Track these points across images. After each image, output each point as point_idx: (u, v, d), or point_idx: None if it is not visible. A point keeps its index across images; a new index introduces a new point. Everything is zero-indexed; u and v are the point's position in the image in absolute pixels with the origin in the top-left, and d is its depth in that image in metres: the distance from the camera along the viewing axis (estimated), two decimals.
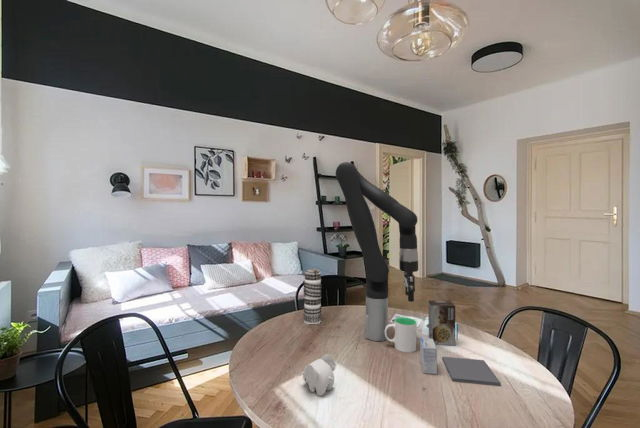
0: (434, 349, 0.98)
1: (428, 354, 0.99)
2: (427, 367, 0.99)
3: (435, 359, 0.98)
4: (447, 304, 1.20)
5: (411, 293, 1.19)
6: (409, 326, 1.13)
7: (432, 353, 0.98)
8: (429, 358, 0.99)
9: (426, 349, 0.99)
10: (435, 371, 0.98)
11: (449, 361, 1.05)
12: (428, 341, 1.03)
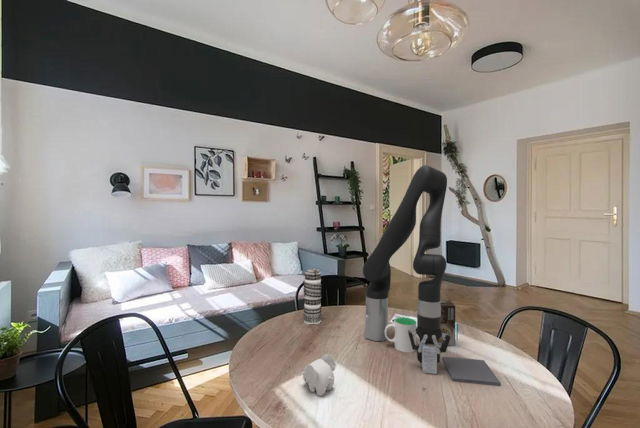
0: (434, 349, 0.98)
1: (428, 354, 0.99)
2: (427, 367, 0.99)
3: (435, 359, 0.98)
4: (447, 304, 1.20)
5: None
6: (409, 326, 1.13)
7: (432, 353, 0.98)
8: (429, 358, 0.99)
9: (426, 348, 0.99)
10: (435, 371, 0.98)
11: (449, 361, 1.05)
12: None
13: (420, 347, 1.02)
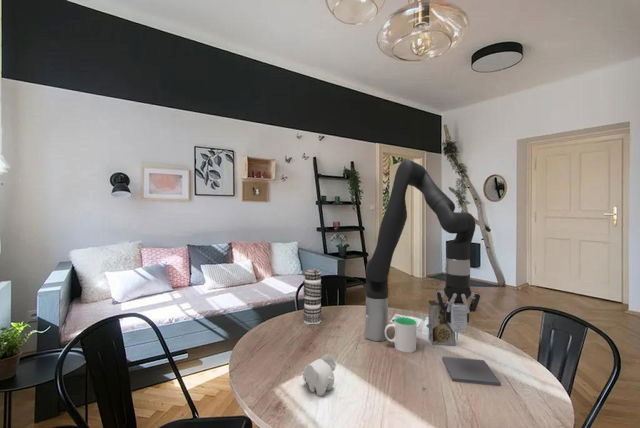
0: (464, 307, 0.97)
1: (458, 312, 0.97)
2: (456, 326, 0.97)
3: (465, 317, 0.97)
4: None
5: None
6: (409, 326, 1.13)
7: (462, 311, 0.97)
8: (459, 316, 0.97)
9: (456, 307, 0.97)
10: (465, 330, 0.97)
11: (449, 361, 1.05)
12: None
13: (449, 307, 1.00)
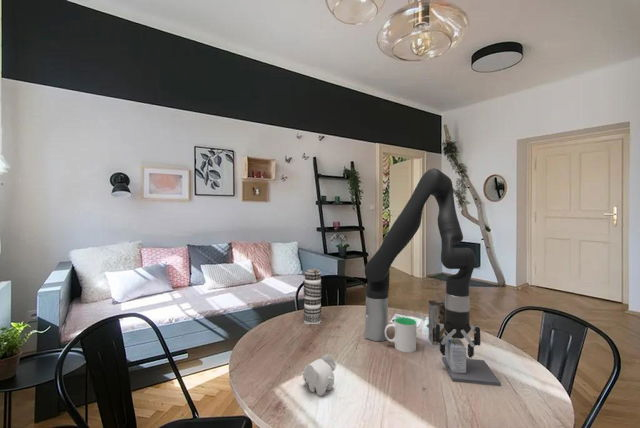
0: (463, 348, 0.97)
1: (457, 353, 0.97)
2: (456, 366, 0.97)
3: (464, 358, 0.97)
4: None
5: None
6: (409, 326, 1.13)
7: (461, 352, 0.97)
8: (458, 357, 0.97)
9: (455, 348, 0.97)
10: (464, 370, 0.97)
11: None
12: (455, 340, 1.02)
13: (444, 340, 1.00)
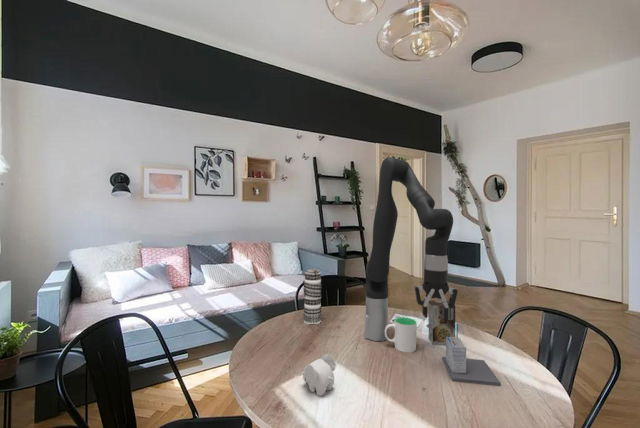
0: (463, 348, 0.97)
1: (457, 353, 0.97)
2: (456, 366, 0.97)
3: (464, 358, 0.97)
4: None
5: None
6: (409, 326, 1.13)
7: (461, 352, 0.97)
8: (458, 357, 0.97)
9: (455, 348, 0.97)
10: (464, 370, 0.97)
11: None
12: (455, 340, 1.02)
13: (426, 302, 1.01)
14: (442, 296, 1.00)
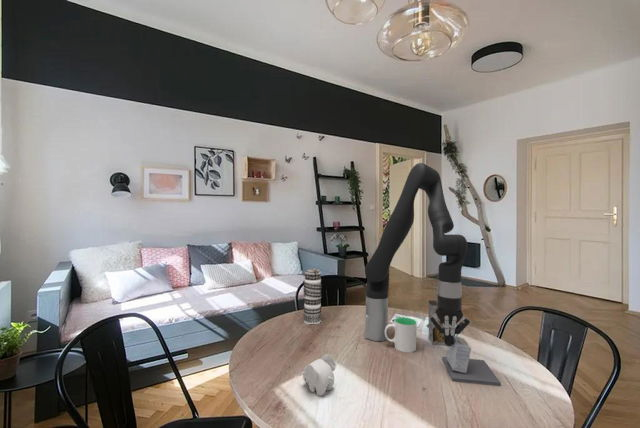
0: (468, 348, 0.97)
1: (461, 352, 0.97)
2: (457, 365, 0.97)
3: (467, 358, 0.97)
4: None
5: None
6: (409, 326, 1.13)
7: (465, 352, 0.97)
8: (461, 356, 0.97)
9: (460, 347, 0.97)
10: (465, 370, 0.97)
11: None
12: (460, 340, 1.02)
13: (446, 330, 1.00)
14: (453, 323, 0.99)
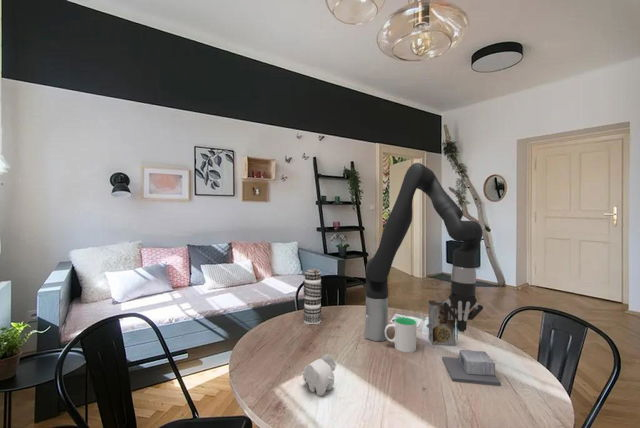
0: (493, 373, 0.96)
1: (488, 367, 0.96)
2: (473, 365, 0.97)
3: (483, 373, 0.96)
4: None
5: None
6: (409, 326, 1.13)
7: (489, 371, 0.96)
8: (483, 368, 0.96)
9: (493, 366, 0.96)
10: (469, 372, 0.97)
11: (449, 361, 1.05)
12: None
13: (459, 315, 1.01)
14: (466, 308, 1.00)
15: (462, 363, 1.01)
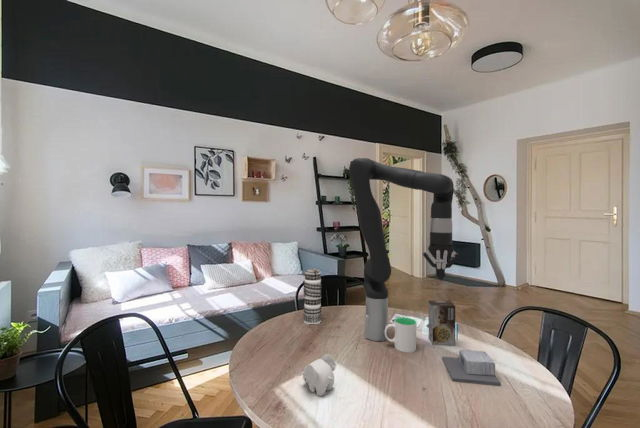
0: (493, 373, 0.96)
1: (488, 367, 0.96)
2: (473, 365, 0.97)
3: (483, 373, 0.96)
4: (447, 304, 1.20)
5: None
6: (409, 326, 1.13)
7: (489, 371, 0.96)
8: (483, 368, 0.96)
9: (493, 366, 0.96)
10: (469, 372, 0.97)
11: (449, 361, 1.05)
12: None
13: (438, 264, 1.07)
14: (444, 257, 1.06)
15: (462, 363, 1.01)
